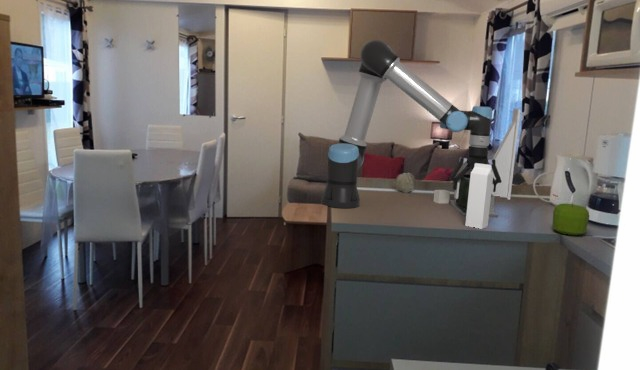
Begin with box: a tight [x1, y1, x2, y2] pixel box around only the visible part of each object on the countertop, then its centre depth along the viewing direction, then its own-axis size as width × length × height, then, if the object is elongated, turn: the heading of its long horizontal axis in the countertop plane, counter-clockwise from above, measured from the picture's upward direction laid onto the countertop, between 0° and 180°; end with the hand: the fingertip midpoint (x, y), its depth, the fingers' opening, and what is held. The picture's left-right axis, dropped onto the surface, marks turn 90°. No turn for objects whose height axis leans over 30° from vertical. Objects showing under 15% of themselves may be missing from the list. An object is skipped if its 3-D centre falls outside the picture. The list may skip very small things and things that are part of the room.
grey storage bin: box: [448, 181, 499, 218], centre depth 211 cm, size 13×24×9 cm, turn 0°
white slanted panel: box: [491, 108, 522, 201], centre depth 244 cm, size 20×14×40 cm
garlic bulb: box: [393, 172, 416, 194], centre depth 241 cm, size 9×8×10 cm
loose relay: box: [433, 189, 451, 204], centre depth 223 cm, size 5×4×5 cm
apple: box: [551, 203, 590, 236], centre depth 181 cm, size 11×11×11 cm
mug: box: [458, 173, 471, 207], centre depth 211 cm, size 11×15×12 cm
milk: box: [465, 163, 493, 230], centre depth 183 cm, size 6×6×22 cm
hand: (473, 199), depth 211 cm, fingers open, 13 cm apart
